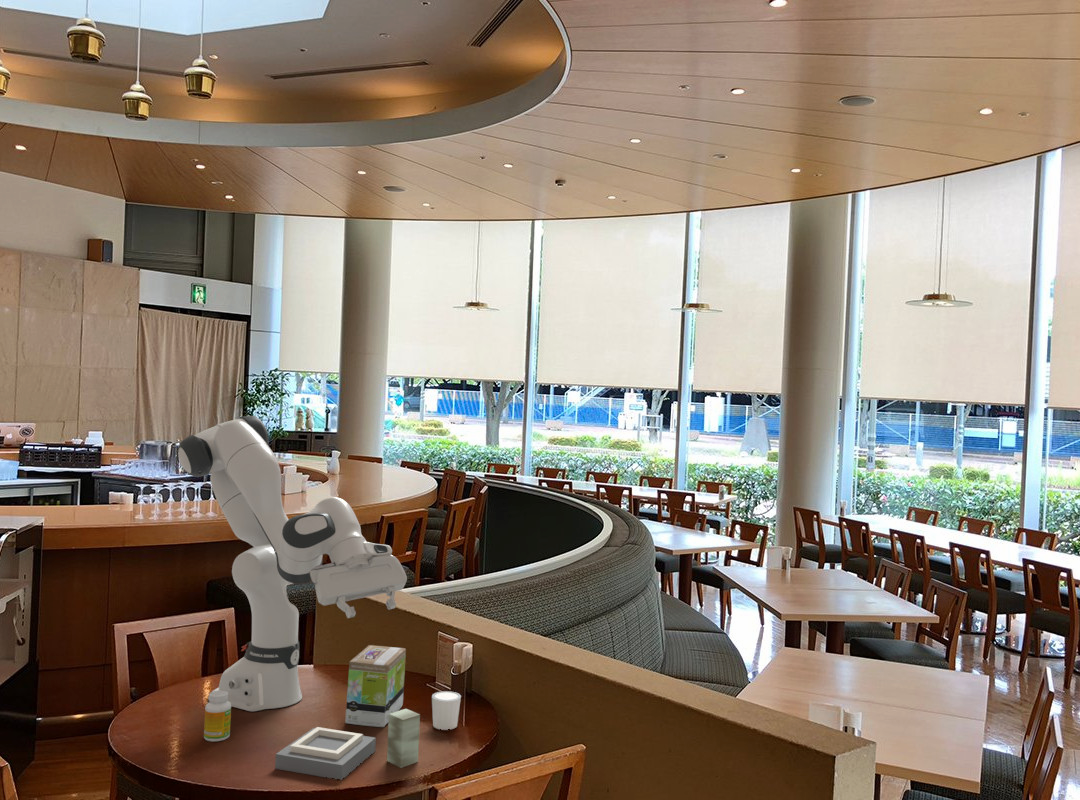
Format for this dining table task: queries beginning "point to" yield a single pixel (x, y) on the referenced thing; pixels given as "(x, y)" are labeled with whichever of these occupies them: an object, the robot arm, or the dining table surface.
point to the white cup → (445, 709)
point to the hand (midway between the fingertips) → (372, 611)
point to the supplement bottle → (217, 717)
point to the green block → (403, 738)
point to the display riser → (326, 753)
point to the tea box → (375, 685)
